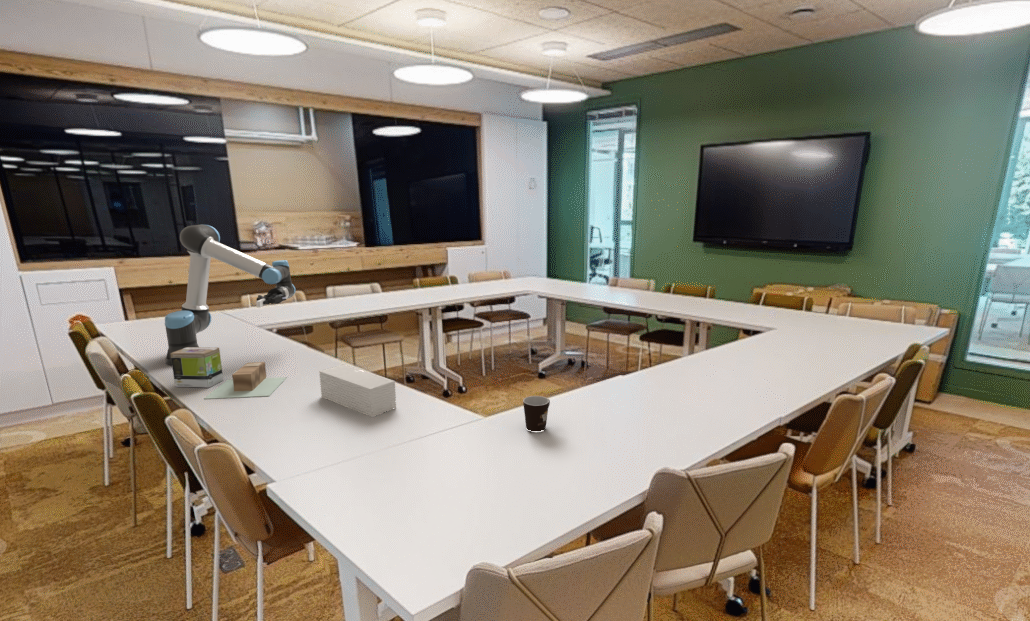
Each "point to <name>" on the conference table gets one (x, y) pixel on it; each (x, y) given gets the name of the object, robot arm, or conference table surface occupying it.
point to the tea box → (197, 367)
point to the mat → (260, 391)
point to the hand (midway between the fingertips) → (258, 304)
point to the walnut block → (249, 376)
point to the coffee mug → (536, 412)
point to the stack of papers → (358, 390)
